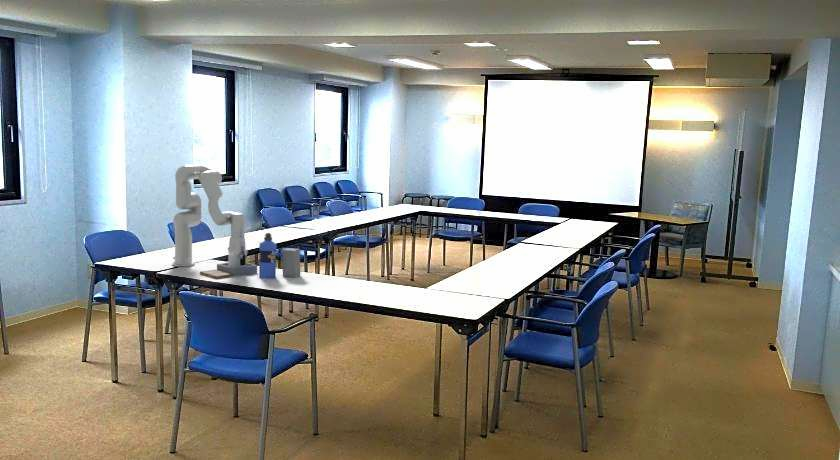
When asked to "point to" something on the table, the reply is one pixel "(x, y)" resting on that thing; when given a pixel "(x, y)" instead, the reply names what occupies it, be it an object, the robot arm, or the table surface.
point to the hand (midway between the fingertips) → (237, 264)
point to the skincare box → (291, 262)
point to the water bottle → (267, 258)
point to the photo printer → (234, 260)
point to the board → (216, 274)
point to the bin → (238, 269)
